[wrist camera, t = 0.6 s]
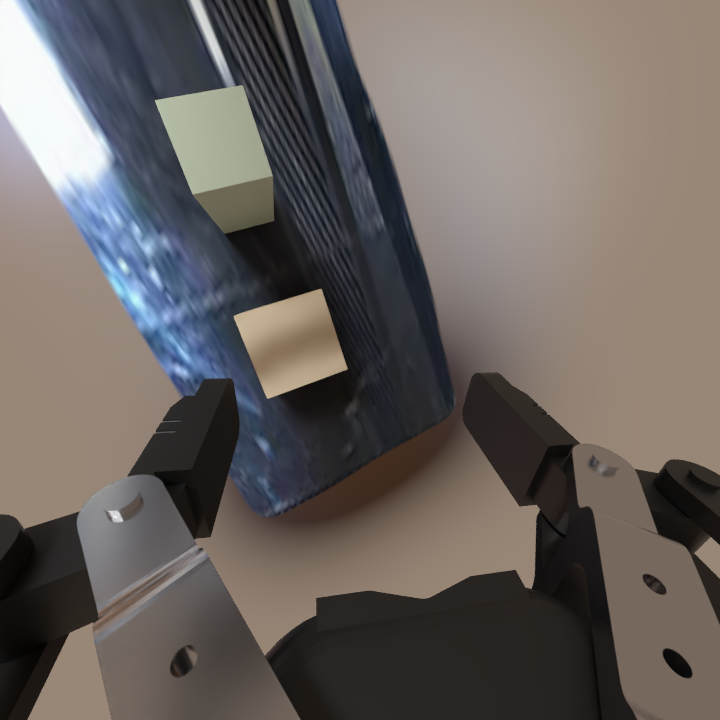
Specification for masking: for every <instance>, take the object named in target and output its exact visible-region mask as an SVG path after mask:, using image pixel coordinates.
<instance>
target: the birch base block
mask: <svg viewBox="0 0 720 720" xmlns="http://www.w3.org/2000/svg"><path fill="white" fill-rule="evenodd" d="M234 319H235V321H236V324H237V326H238V329H239V331H240V334H241V336H242V338H243V341H244V343H245V346H246V348H247V351H248V353H249V355H250V358H251V360H252V363H253V365H254V368H255V370H256V373H257V375H258V377H259V380H260V382H261V385H262V387H263V390H264V392H265V394H266V397H267V399H269V398H271V397H274V396H277V395H280V394H282V393H285V392H288V391H290V390H293V389H296V388H299V387H301V386H304V385H307V384H309V383H312V382H315V381H318V380H320V379H323V378H326V377H328V376H331V375H334V374H337V373H339V372H342V371H345V370H347V366H346V363H345V360H344V357H343V354H342V350H341V347H340V344H339V341H338V338H337V335H336V332H335V329H334V326H333V323H332V319H331V316H330V313H329V310H328V307H327V304H326V301H325V298H324V295H323V292H322V289H318V290H314V291H311V292H307V293H304V294H301V295H298V296H294V297H291V298H288V299H285V300H282V301H278V302H275V303H272V304H269V305H265V306H262V307H259V308H256V309H253V310H249V311H246V312H243V313H240V314H238V315H235V316H234Z"/></svg>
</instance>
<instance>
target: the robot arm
mask: <svg viewBox="0 0 720 720" xmlns="http://www.w3.org/2000/svg"><path fill="white" fill-rule="evenodd" d="M463 421H464V424H465V426H466V428H467V429H468V431H469V432H470V433H471V435H472V436H473V438H474V439H475V441H476V442H477V444H478V445H479V447H480V448H481V450H482V451H483V453H484V454H485V456H486V457H487V459H488V460H489V462H490V463H491V465H492V466H493V468H494V469H495V470H496V472H497V473H498V475H499V477H500V478H501V479H502V481H503V482H504V484H505V485H506V487H507V488H508V490H509V491H510V493H511V494H512V496H513V497H514V499H515V500H516V502H517V503H518V505H519V506H528V505H537V506H538V507H539V508H540V511H539V513H538V515H537V519H536V552H535V577H534V582H533V586H532V589H529V588H525V586H524V585H523V583H522V581H521V579H520V577H519V576H518V574H517V572H516V570H512V571H505V572H498V573H491V574H484V575H476V576H470V577H468V578H467V579H465V580H463V581H461V582H459V583H457V584H455V585H453V586H451V587H449V588H447V589H446V590H444V591H442V592H440V593H438V594H436V595H434V596H432V597H430V598H427V599H419V598H413V597H406V596H399V595H394V594H387V593H381V592H375V591H363V592H356V593H349V594H342V595H335V596H328V597H321V598H316V603H317V607H316V610H317V611H316V614H317V615H316V616H314V617H312V618H310V619H308V620H306V621H304V622H303V623H301V624H300V625H298V626H297V627H295V628H294V629H292V630H291V631H290V632H289V633H287V634H286V635H285V636H284V637H283V638H282V639H280V640H279V641H278V642H277V643H276V644H275V645H274V646H273V648H272V649H271V650H270V651H269V652H268V653H267V654H266V655H265V656H264V654H263V653H262V651H261V649H260V647H259V645H258V643H257V642H256V640H255V638H254V636H253V635H252V633H251V631H250V629H249V627H248V626H247V624H246V622H245V620H244V619H243V617H242V615H241V613H240V611H239V610H238V608H237V606H236V605H235V603H234V601H233V599H232V597H231V595H230V594H229V592H228V590H227V588H226V587H225V585H224V583H223V581H222V580H221V578H220V576H219V574H218V573H217V571H216V569H215V567H214V565H213V564H212V562H211V560H210V559H209V557H208V555H207V553H206V552H205V551H204V549H203V548H200V549H199V547H198V546H197V544H196V542H195V539H196V538H206V537H211V533H212V530H213V526H214V522H215V519H216V516H217V512H218V508H219V505H220V501H221V498H222V494H223V491H224V486H225V483H226V480H227V476H228V473H229V469H230V465H231V462H232V458H233V455H234V451H235V447H236V444H237V440H238V436H239V414H238V408H237V401H236V395H235V389H234V383H233V380H232V379H231V378H225V379H204V380H203V382H202V384H201V386H200V388H199V389H198V391H197V393H196V395H195V396H185V397H183V398H182V399H181V400H179V401H178V402H177V403H176V404H174V405H173V406H172V407H171V408H170V409H169V411H168V413H167V414H166V416H165V417H164V419H163V423H160V425H159V427H158V428H157V430H156V434H154V435H153V436H152V438H151V439H150V441H149V443H148V444H147V446H146V447H145V449H144V450H143V452H142V454H141V455H140V457H139V458H138V460H137V462H136V463H135V465H134V467H133V468H132V470H131V471H130V473H129V474H128V476H127V477H126V478H122V479H120V480H117V481H115V482H113V483H111V484H109V485H107V486H106V487H104V488H102V489H101V490H99V491H98V492H97V493H95V494H94V495H93V496H92V497H91V498H90V499H89V500H88V501H87V502H86V503H85V504H84V506H83V507H82V509H81V510H80V511H79V512H76V513H74V514H71V515H67V516H64V517H61V518H58V519H55V520H51V521H48V522H45V523H42V524H39V525H36V526H33V527H29V528H26V529H24V528H23V527H22V525H21V524H20V523H19V521H18V520H17V519H16V518H14V517H13V516H10V515H2V514H1V515H0V720H27V719H28V717H29V715H30V713H31V711H32V709H33V707H34V705H35V703H36V701H37V698H38V696H39V694H40V692H41V690H42V688H43V686H44V684H45V682H46V680H47V678H48V676H49V674H50V672H51V669H52V668H53V666H54V663H55V661H56V659H57V657H58V655H59V653H60V651H61V649H62V647H63V645H64V643H65V641H66V639H67V637H68V635H69V633H70V632H72V631H74V630H76V629H79V628H81V627H83V626H86V625H88V624H90V623H92V622H93V636H94V642H95V646H96V651H97V656H98V660H99V665H100V669H101V673H102V678H103V683H104V687H105V692H106V696H107V701H108V705H109V710H110V714H111V719H112V720H720V579H719V578H718V577H717V576H716V575H715V574H714V573H713V572H712V571H711V570H710V569H709V568H708V567H707V566H706V565H705V564H704V563H703V562H702V561H701V560H700V559H699V558H698V557H697V556H696V555H695V554H694V553H695V552H696V551H697V550H698V549H699V548H700V547H701V546H702V545H703V544H704V543H705V542H706V541H707V540H708V539H709V538H710V537H712V538H713V539H714V540H715V541H716V542H717V543H718V544H719V545H720V475H718V474H717V473H715V472H713V471H711V470H709V469H707V468H705V467H703V466H700V465H697V464H695V463H692V462H688V461H684V460H675V459H674V460H669V461H668V462H667V463H666V464H665V465H664V466H663V468H662V469H661V470H660V472H659V473H654V472H648V471H642V470H637V469H634V468H633V467H632V466H631V465H630V464H629V463H628V462H627V461H626V460H624V459H623V458H622V457H620V456H619V455H617V454H615V453H613V452H612V451H610V450H607V449H605V448H602V447H600V446H596V445H592V444H580V443H579V442H578V441H577V440H576V439H575V438H574V437H573V436H572V435H570V434H569V433H568V432H567V431H566V430H565V429H564V428H563V427H562V426H561V425H560V424H558V423H557V422H556V421H555V420H554V419H553V418H552V417H551V416H550V415H547V413H546V411H544V410H543V409H542V408H541V407H540V406H538V404H537V403H536V402H535V401H534V400H533V399H531V398H530V397H529V396H528V395H527V394H525V393H524V392H522V391H520V390H519V389H517V388H515V387H513V386H512V385H511V384H510V383H509V382H508V381H506V379H505V378H504V377H503V376H502V375H500V374H499V373H475V374H474V375H473V376H472V378H471V381H470V385H469V389H468V392H467V396H466V399H465V403H464V406H463Z"/></svg>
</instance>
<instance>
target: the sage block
mask: <svg viewBox="0 0 720 720" xmlns="http://www.w3.org/2000/svg"><path fill="white" fill-rule="evenodd" d="M155 102H156V105H157V107H158V110H159V112H160V115H161V117H162V120H163V122H164V125H165V127H166V129H167V132H168V134H169V137H170V139H171V142H172V144H173V147H174V149H175V152H176V154H177V157H178V159H179V162H180V164H181V167H182V169H183V172H184V174H185V177H186V179H187V182H188V184H189V187H190V189H191V192H192V194H193V195H194V197H195V198H196V199H197V200H198V202H199V203H200V204H201V205H202V207H203V208H204V209H205V210H206V212H207V213H208V214H209V215H210V217H211V218H212V219H213V220H214V222H215V223H216V224H217V225H218V226H219V228H220V229H221V230H222V231H223V233H224V234H226V233H230V232H234V231H238V230H241V229H245V228H249V227H253V226H257V225H261V224H265V223H268V222H272V221H274V199H273V175H272V172H271V169H270V166H269V163H268V160H267V157H266V154H265V151H264V148H263V145H262V142H261V139H260V136H259V133H258V130H257V127H256V124H255V121H254V118H253V115H252V112H251V109H250V106H249V103H248V100H247V97H246V94H245V91H244V88H243V85H241V86H235V87H229V88H224V89H218V90H212V91H206V92H201V93H195V94H189V95H183V96H177V97H172V98H166V99H160V100H155Z"/></svg>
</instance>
